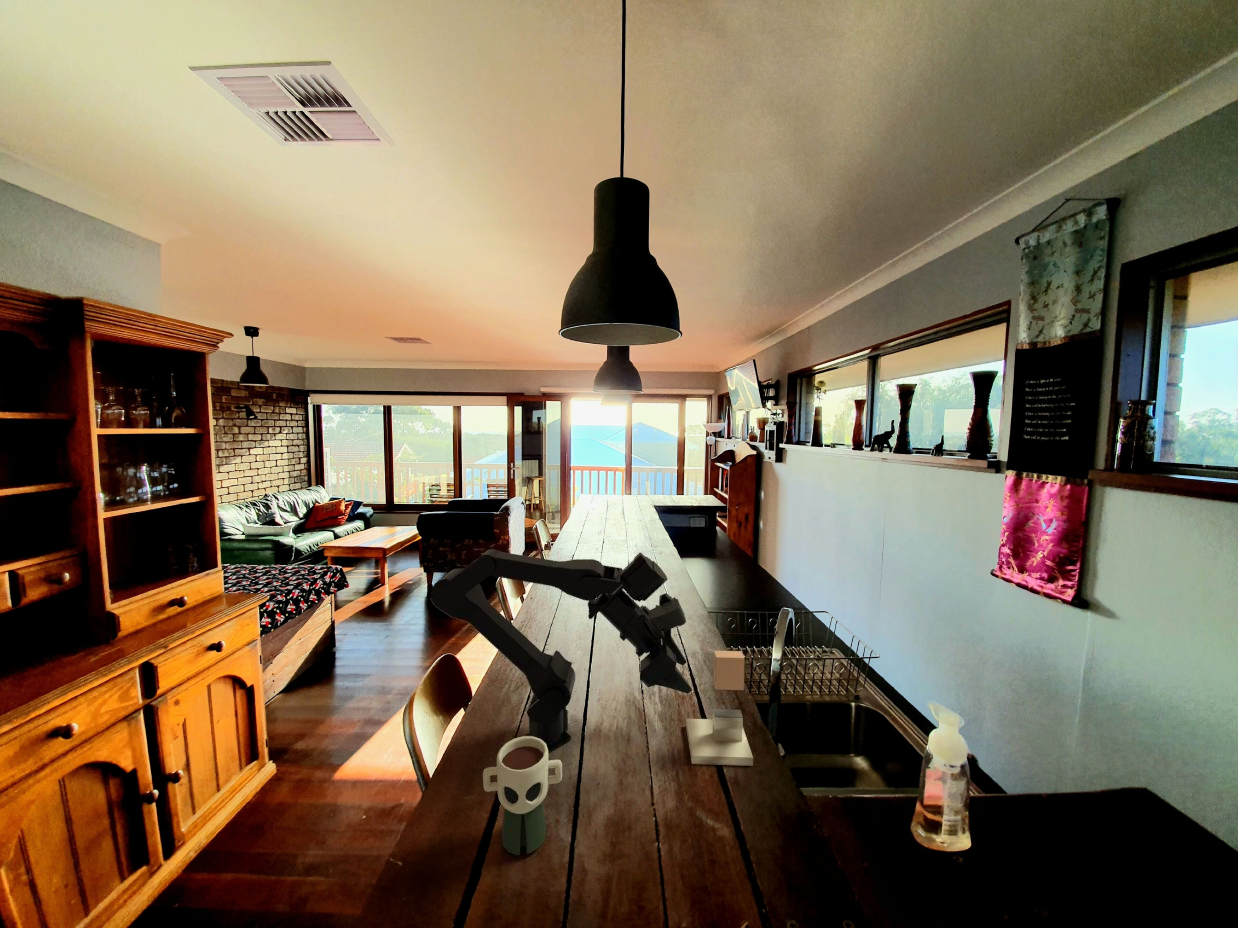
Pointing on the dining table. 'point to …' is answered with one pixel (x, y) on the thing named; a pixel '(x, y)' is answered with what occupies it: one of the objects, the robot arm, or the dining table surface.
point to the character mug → (523, 790)
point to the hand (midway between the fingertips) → (687, 676)
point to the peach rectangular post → (729, 670)
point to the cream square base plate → (719, 739)
